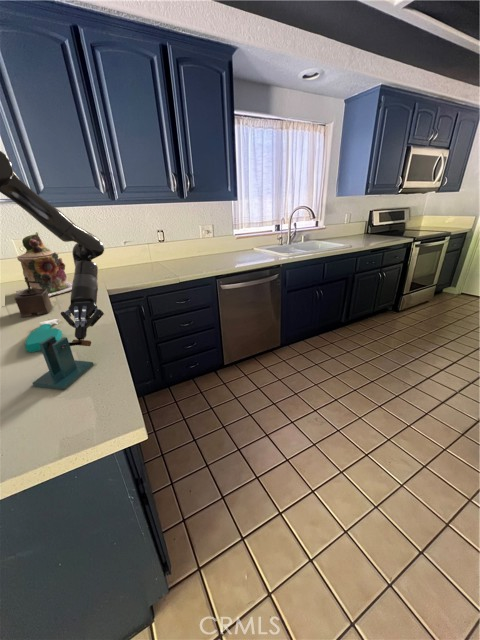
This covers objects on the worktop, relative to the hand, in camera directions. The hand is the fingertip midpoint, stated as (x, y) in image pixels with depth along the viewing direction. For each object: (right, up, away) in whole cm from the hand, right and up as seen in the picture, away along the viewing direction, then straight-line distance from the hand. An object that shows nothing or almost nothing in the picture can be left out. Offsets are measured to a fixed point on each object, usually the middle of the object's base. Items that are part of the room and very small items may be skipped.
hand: (80, 339), depth 84 cm
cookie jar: (-58, +23, +68) cm, 92 cm away
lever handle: (-1, -2, -4) cm, 5 cm away
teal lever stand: (-1, -10, -5) cm, 12 cm away
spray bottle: (-24, 0, +18) cm, 30 cm away
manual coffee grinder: (-42, +10, +41) cm, 59 cm away
